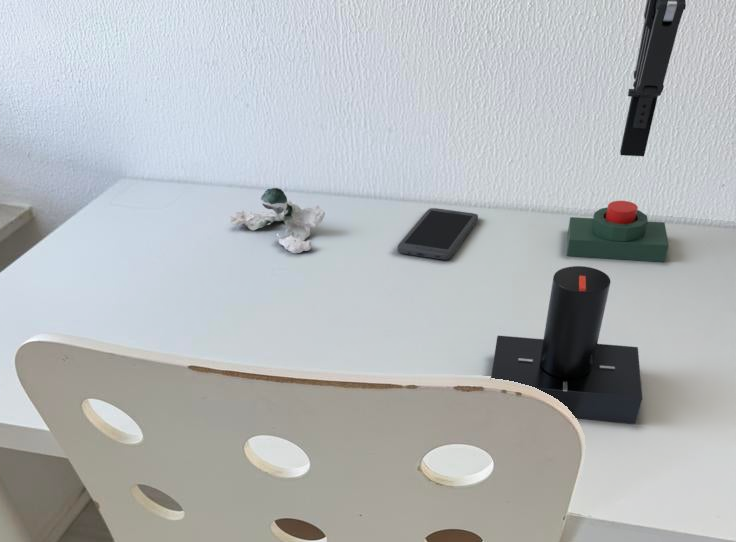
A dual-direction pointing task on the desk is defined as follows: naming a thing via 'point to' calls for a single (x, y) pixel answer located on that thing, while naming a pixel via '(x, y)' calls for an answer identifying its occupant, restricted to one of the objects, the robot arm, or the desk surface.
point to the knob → (574, 321)
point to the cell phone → (438, 233)
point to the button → (621, 212)
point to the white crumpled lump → (283, 219)
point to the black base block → (583, 394)
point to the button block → (617, 238)
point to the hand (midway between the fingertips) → (632, 153)
